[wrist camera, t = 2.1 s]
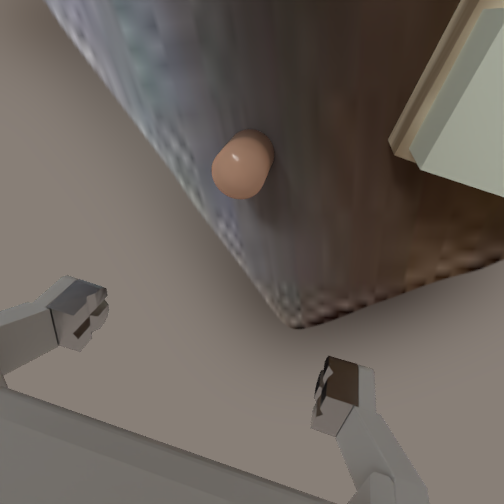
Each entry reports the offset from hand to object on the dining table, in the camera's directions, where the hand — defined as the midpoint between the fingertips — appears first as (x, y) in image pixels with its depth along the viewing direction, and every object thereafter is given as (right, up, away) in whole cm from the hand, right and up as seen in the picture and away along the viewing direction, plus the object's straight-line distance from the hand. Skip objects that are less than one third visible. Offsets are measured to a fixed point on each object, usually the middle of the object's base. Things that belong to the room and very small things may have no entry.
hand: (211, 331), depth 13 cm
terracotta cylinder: (+1, +13, +25) cm, 28 cm away
